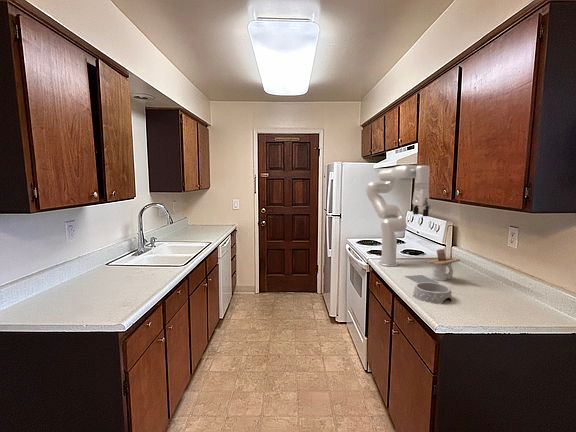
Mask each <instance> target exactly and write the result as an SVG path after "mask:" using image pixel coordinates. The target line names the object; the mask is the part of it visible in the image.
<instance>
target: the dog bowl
mask: <svg viewBox="0 0 576 432" xmlns="http://www.w3.org/2000/svg"><path fill="white" fill-rule="evenodd" d="M451 290H452V289H451V288H450V287H449V286H447V285H445V284H441V283H431V282H422V283H416V284H415V285H414V290H413V291H412V292H413V295H412V297H414V299H417V300H418V301H421V302H424V301H425V302H424V303H429V302H431V304H438V303H442V304H443V303H444V301H446V300H447V299H448V298H449V299H451V301H453V296H452V291H451Z"/></svg>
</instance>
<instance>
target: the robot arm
mask: <svg viewBox="0 0 576 432" xmlns="http://www.w3.org/2000/svg"><path fill="white" fill-rule="evenodd" d="M430 171H431V170H430V166H429V165H426V164H425V165H424V164H423V165H413V164H412V165H411V164H410V165H399V166H394V167H388V168H382V169H380V171H379V172H378V174H377V177H378V179H379V180H374V181H370V182H369V183H367V184H366V190H365V192H366V196H367V198H368V200H369V201H370V202H371V205H372V206H373V208H374V210H375V212H376V214H377V216H378V217H379V218H380V219H381V220H382V219H383V220H382V221H381V222H380V223H381V224H380V228H381V256H380V261H378V265H380V266H384V267H397V266H399V262H398V261H397V241H398V239H397V235H396V233H399V232H403V231H405V230H406V229H407V223H408V222H407V220H406V218H405V216H404V215H403V212H402V211H401V209H400V207H399V206H397V205H396V204H388V203H387V202H386V201H385V199H384V197H383V196H382V195H381V194H388V193H390V192H391V191H392V190H393V188H394V186H395V185H396V184H397V182H398V181H399V180H400V179H415V180H414V181H415V182H414V183H415V184H414V185H415V186H414V191H413V194H412V196H413V197H412V200H411V203H412V204H411V205H412V210H413V211H412V215H414V216H415V215H419V207H422V208H423V209H422V217H429V212H430V211H429V210H430V208H431V205H432V202H431V200H430V190H429V189H430V188H429V187H430Z"/></svg>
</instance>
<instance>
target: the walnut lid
mask: <svg viewBox="0 0 576 432" xmlns="http://www.w3.org/2000/svg"><path fill="white" fill-rule="evenodd" d="M436 254H437V257H436V258H432V259H428V260H425V263H428V264H431V265H434V264H436V265H441V266H442V265H446V264H450V263H451V264H452V263H453V264H454V263H457V262H460V261H461V259H459V258H453V257H447V256H446V251H445V249H444V248H440V249H436Z"/></svg>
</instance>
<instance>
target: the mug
mask: <svg viewBox="0 0 576 432" xmlns="http://www.w3.org/2000/svg"><path fill="white" fill-rule="evenodd" d="M447 267H448V269H449V270H448V271H449V272H448V273H447ZM453 272H454V268H453V265H452V263H450V264H446V265H442V266H441V265H436V264H433V267H432V275H431V279H432V280H434V281H436V282H443V281H446V280H447V278H448V279H451V278H452V277H453Z"/></svg>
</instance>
